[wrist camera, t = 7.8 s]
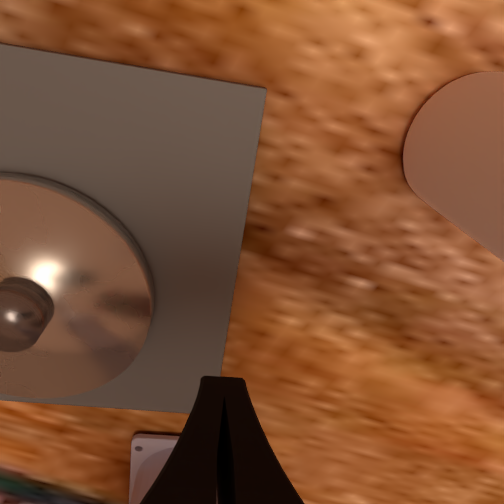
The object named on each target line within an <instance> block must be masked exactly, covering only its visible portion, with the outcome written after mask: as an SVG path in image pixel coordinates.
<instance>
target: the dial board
mask: <svg viewBox="0 0 504 504" xmlns="http://www.w3.org/2000/svg"><path fill="white" fill-rule="evenodd" d="M266 92H267V89H266V88H264V87H258V86H253V85H247V84H241V83H235V82H229V81H223V80H217V79H211V78H205V77H200V76H194V75H188V74H182V73H176V72H170V71H164V70H158V69H152V68H147V67H141V66H135V65H129V64H123V63H117V62H111V61H105V60H99V59H93V58H88V57H82V56H76V55H70V54H64V53H58V52H52V51H46V50H40V49H35V48H29V47H23V46H17V45H11V44H5V43H0V173H14V174H23V175H29V176H34V177H39V178H43V179H46V180H49V181H53V182H56V183H59V184H61V185H63V186H66V187H68V188H70V189H73V190H75V191H77V192H79V193H80V194H82V195H84V196H86V197H87V198H89V199H91V200H93V201H94V202H95V203H97V204H98V205H99V206H101V207H102V208H104V209H105V210H106V211H108V212H109V213H110V214H111V215H112V216H113V217H114V218H115V219H116V220H118V221H119V222H120V223H121V225H122V226H123V227H124V228H125V229H126V230H127V231H128V233H129V234H130V235H131V236H132V238H133V239H134V241H135V242H136V243H137V245H138V246H139V248H140V250H141V252H142V254H143V256H144V258H145V260H146V262H147V264H148V267H149V270H150V273H151V276H152V281H153V287H154V310H153V316H152V319H151V323H150V326H149V330H148V333H147V336H146V340H145V342H144V344H143V346H142V348H141V350H140V352H139V354H138V355H137V357H136V358H135V359H134V361H133V362H132V363H131V364H130V365H129V366H128V367H127V368H126V369H125V371H123V372H122V373H121V374H120V375H118V376H117V377H116V378H114V379H113V380H111V381H109V382H108V383H106V384H104V385H102V386H100V387H98V388H95V389H93V390H91V391H88V392H84V393H81V394H77V395H72V396H67V397H59V398H27V397H17V396H12V395H7V394H2V393H0V400H4V401H18V402H33V403H47V404H61V405H76V406H90V407H104V408H119V409H133V410H148V411H162V412H176V413H191V411H192V408H193V405H194V403H195V400H196V397H197V394H198V390H199V386H200V380H201V378H202V377H203V376H219V377H220V373H221V367H222V361H223V355H224V349H225V343H226V337H227V331H228V324H229V318H230V312H231V306H232V300H233V294H234V288H235V282H236V275H237V269H238V263H239V257H240V251H241V245H242V239H243V232H244V226H245V220H246V214H247V208H248V202H249V196H250V190H251V183H252V177H253V171H254V165H255V159H256V153H257V147H258V141H259V134H260V128H261V122H262V116H263V110H264V104H265V98H266Z"/></svg>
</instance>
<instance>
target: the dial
mask: <svg viewBox="0 0 504 504" xmlns="http://www.w3.org/2000/svg"><path fill="white" fill-rule="evenodd" d="M153 310H154V287H153V281H152V276H151V273H150V270H149V267H148V264H147V262H146V260H145V258H144V256H143V254H142V252H141V250H140V248H139V246H138V245H137V243H136V242H135V241H134V239H133V238H132V236H131V235H130V234H129V233H128V231H127V230H126V229H125V228H124V227H123V226H122V225H121V223H120V222H119V221H118V220H116V219H115V218H114V217H113V216H112V215H111V214H110V213H109V212H108V211H106V210H105V209H104V208H102V207H101V206H99V205H98V204H97V203H95V202H94V201H93V200H91V199H89V198H87V197H86V196H84V195H82V194H80V193H79V192H77V191H75V190H73V189H70V188H68V187H66V186H63V185H61V184H59V183H56V182H53V181H49V180H46V179H43V178H39V177H34V176H29V175H23V174H14V173H0V393H2V394H7V395H12V396H17V397H27V398H59V397H67V396H72V395H77V394H81V393H84V392H88V391H91V390H93V389H95V388H98V387H100V386H102V385H104V384H106V383H108V382H109V381H111V380H113V379H114V378H116V377H117V376H118V375H120V374H121V373H122V372H123V371H125V369H126V368H127V367H128V366H129V365H130V364H131V363H132V362H133V361H134V359H135V358H136V357H137V355H138V354H139V352H140V350H141V348H142V346H143V344H144V342H145V340H146V336H147V333H148V330H149V326H150V323H151V319H152V316H153Z"/></svg>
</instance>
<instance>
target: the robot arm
mask: <svg viewBox="0 0 504 504" xmlns="http://www.w3.org/2000/svg"><path fill="white" fill-rule="evenodd" d="M129 504H304V502H303V501H302V499H301V498H300V496H299V495H298V493H297V492H296V490H295V489H294V487H293V485H292V484H291V482H290V481H289V479H288V477H287V476H286V474H285V472H284V471H283V469H282V467H281V465H280V463H279V462H278V460H277V458H276V456H275V454H274V452H273V450H272V448H271V446H270V444H269V442H268V440H267V438H266V436H265V434H264V432H263V429H262V427H261V425H260V423H259V420H258V418H257V416H256V413H255V411H254V408H253V405H252V403H251V400H250V397H249V394H248V391H247V387H246V383H245V381H244V380H243V378H234V377H219V376H203V377H202V378H201V380H200V386H199V390H198V394H197V397H196V400H195V403H194V405H193V408H192V411H191V413H190V415H189V418H188V420H187V422H186V425H185V427H184V429H183V431H182V433H181V435H180V436H169V435H153V434H136V435H134V436H133V438H132V442H131V464H130V488H129Z"/></svg>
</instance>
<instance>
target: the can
mask: <svg viewBox="0 0 504 504" xmlns="http://www.w3.org/2000/svg"><path fill="white" fill-rule="evenodd" d="M403 167H404V173H405V177H406V180H407V182H408V184H409V186H410V187H411V189H412V190H413V191H414V193H415V194H416V195H417V196H418V197H419V198H421V199H422V200H423V201H424V202H425V203H427V204H428V205H429V206H430V207H432V208H433V209H434V210H436V211H437V212H438V213H440V214H441V215H442V216H444V217H445V218H446V219H447V220H449V221H450V222H451V223H453V224H454V225H455V226H457V227H458V228H459V229H461V230H462V231H463V232H465V233H466V234H467V235H469V236H470V237H471V238H473V239H474V240H475V241H477V242H478V243H479V244H481V245H482V246H483V247H485V248H486V249H487V250H489V251H490V252H491V253H493V254H494V255H495V256H497V257H498V258H499V259H501V260H502V261H503V262H504V72H479V73H473V74H469V75H466V76H463V77H461V78H458V79H456V80H454V81H452V82H450V83H449V84H447V85H446V86H444V87H443V88H441V89H440V90H439V91H437V92H436V93H435V94H434V95H433V96H432V97H431V98H430V99H429V100H428V101H427V102H426V103H425V104H424V105H423V107H422V108H421V109H420V111H419V112H418V113H417V115H416V117H415V118H414V120H413V122H412V124H411V126H410V128H409V131H408V133H407V136H406V140H405V144H404V150H403Z"/></svg>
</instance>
